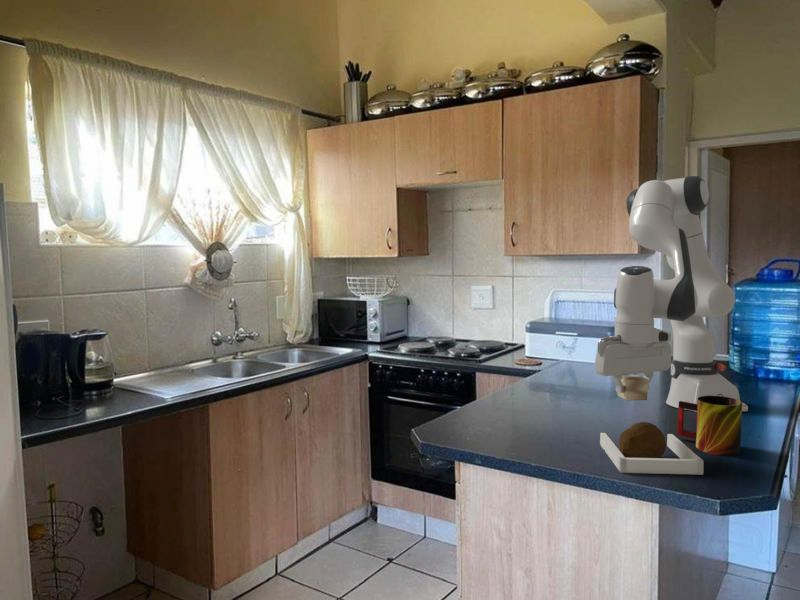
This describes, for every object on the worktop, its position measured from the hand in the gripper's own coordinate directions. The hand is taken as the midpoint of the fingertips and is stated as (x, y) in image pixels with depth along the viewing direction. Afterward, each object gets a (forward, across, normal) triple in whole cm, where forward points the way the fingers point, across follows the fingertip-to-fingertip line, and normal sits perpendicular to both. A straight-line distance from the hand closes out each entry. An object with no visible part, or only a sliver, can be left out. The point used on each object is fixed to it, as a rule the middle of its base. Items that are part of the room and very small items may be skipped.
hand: (632, 391), depth 148 cm
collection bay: (+14, 0, -6) cm, 16 cm away
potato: (+15, -3, -6) cm, 16 cm away
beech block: (+2, 0, 0) cm, 2 cm away
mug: (+15, +19, -6) cm, 24 cm away
